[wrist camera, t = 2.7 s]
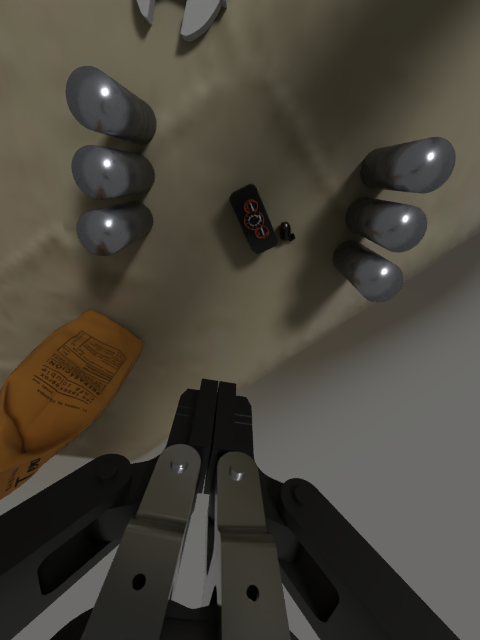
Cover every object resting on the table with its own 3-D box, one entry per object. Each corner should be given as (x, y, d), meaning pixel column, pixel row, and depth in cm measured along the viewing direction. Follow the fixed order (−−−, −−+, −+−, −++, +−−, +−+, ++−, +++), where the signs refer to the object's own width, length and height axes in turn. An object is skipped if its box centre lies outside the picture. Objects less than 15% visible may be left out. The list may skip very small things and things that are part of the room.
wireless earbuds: (256, 255, 34) (257, 262, 31) (229, 193, 31) (227, 195, 28) (294, 237, 33) (299, 243, 30) (270, 172, 30) (272, 172, 27)
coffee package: (42, 354, 40) (-157, 526, 20) (92, 295, 36) (-96, 440, 16) (103, 395, 43) (-19, 580, 23) (155, 345, 39) (61, 519, 19)
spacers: (118, 95, 27) (63, 60, 19) (403, 151, 28) (465, 142, 20) (120, 233, 33) (78, 251, 24) (358, 274, 34) (393, 305, 26)
